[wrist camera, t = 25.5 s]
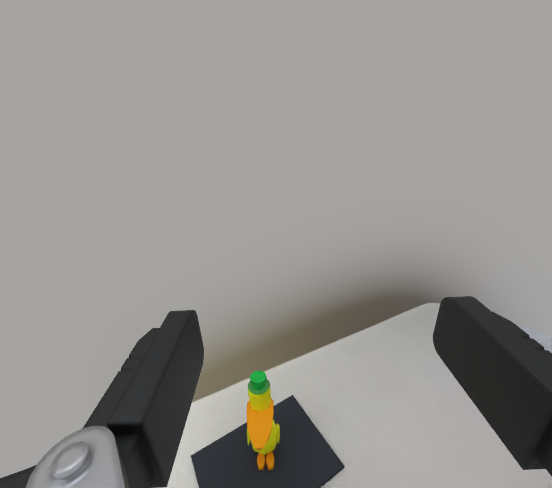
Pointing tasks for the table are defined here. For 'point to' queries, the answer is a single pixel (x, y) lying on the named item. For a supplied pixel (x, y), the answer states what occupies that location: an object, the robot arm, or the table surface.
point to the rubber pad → (287, 455)
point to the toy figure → (261, 420)
